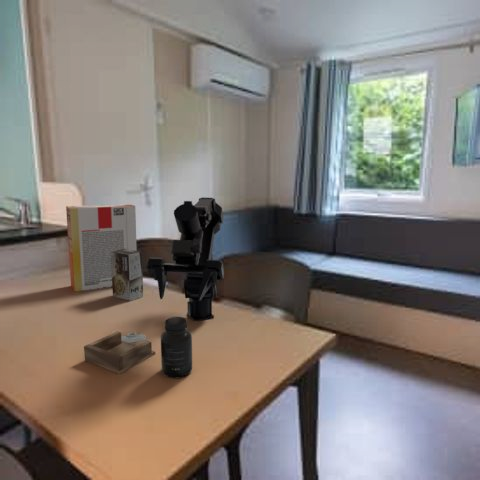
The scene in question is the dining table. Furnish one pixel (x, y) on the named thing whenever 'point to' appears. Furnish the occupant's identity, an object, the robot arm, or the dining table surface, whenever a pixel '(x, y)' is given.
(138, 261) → the coffee box
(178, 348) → the supplement bottle
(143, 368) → the dining table surface
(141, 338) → the mounting bracket
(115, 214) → the pasta box
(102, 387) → the dining table surface
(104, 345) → the walnut well
